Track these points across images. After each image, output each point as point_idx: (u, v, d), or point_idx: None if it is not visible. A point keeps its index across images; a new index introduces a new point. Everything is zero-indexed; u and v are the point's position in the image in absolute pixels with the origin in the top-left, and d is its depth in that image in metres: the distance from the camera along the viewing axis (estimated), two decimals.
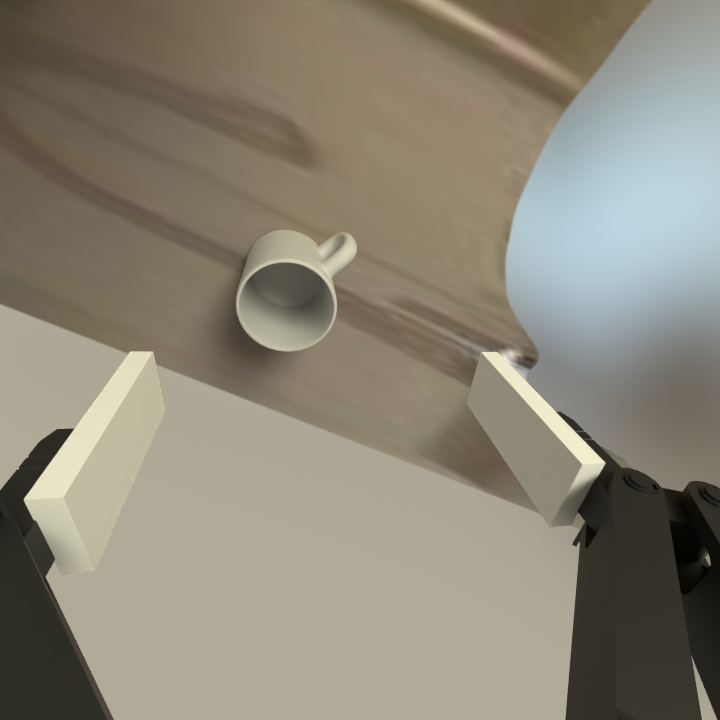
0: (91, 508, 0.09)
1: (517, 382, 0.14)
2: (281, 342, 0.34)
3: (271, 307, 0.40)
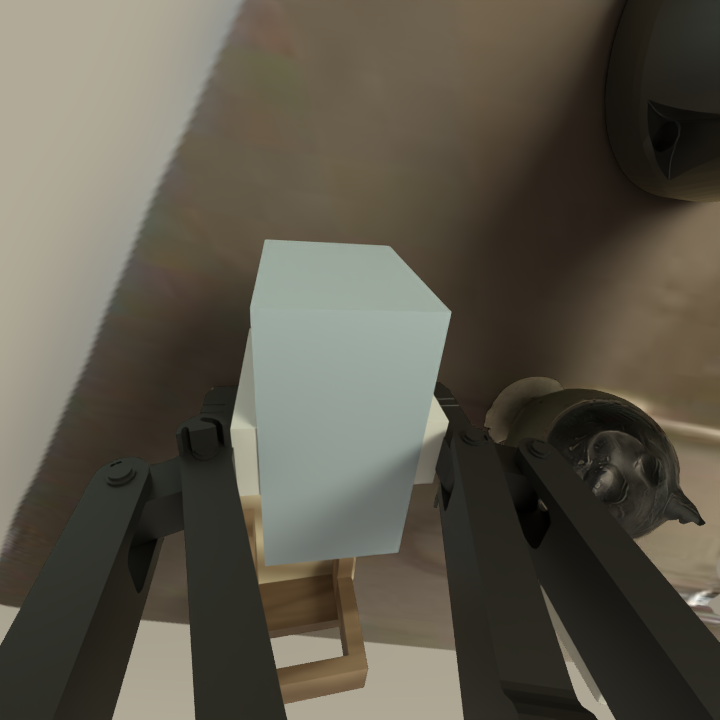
0: None
1: None
2: None
3: None
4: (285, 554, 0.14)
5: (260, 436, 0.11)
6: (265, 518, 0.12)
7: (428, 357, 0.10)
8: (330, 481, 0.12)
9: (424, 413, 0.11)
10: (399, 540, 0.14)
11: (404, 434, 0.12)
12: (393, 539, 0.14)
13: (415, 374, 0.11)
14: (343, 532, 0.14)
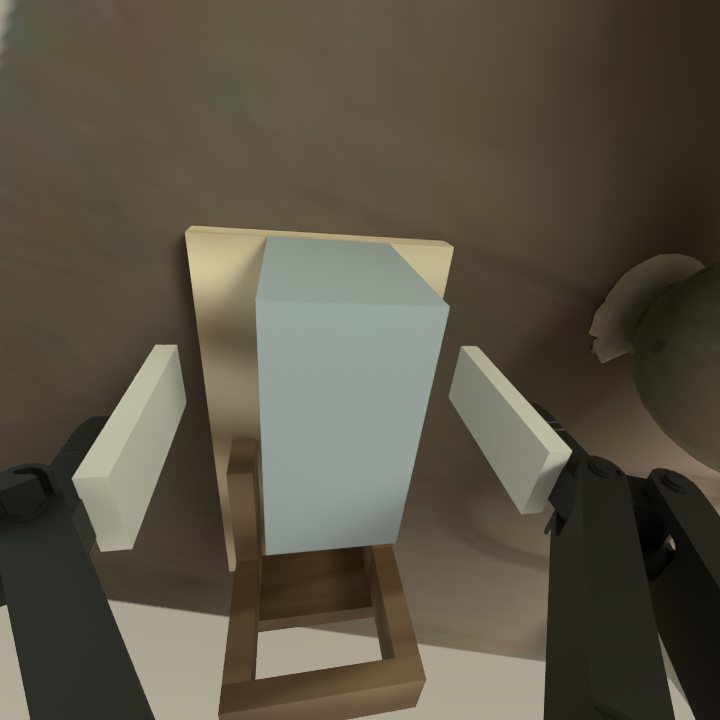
0: (129, 489, 0.10)
1: (494, 375, 0.15)
2: None
3: None
4: (285, 543, 0.14)
5: (263, 426, 0.11)
6: (267, 507, 0.13)
7: (427, 350, 0.11)
8: (330, 471, 0.12)
9: (422, 405, 0.12)
10: (397, 531, 0.15)
11: (403, 426, 0.12)
12: (391, 529, 0.15)
13: (414, 367, 0.11)
14: (343, 522, 0.14)
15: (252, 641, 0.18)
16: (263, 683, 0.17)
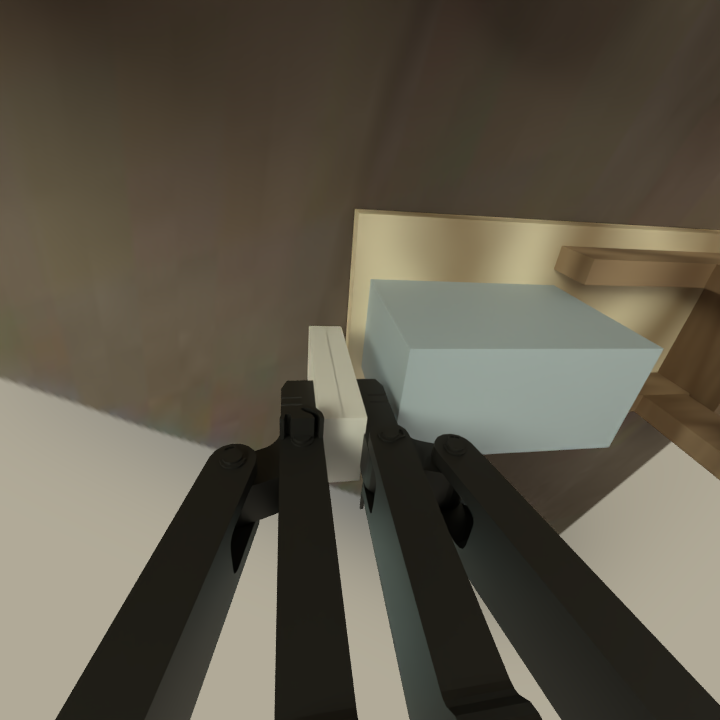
0: None
1: (338, 351, 0.15)
2: None
3: None
4: (603, 435, 0.16)
5: (482, 452, 0.16)
6: (557, 448, 0.16)
7: (445, 358, 0.13)
8: (541, 411, 0.15)
9: (499, 352, 0.13)
10: (646, 349, 0.14)
11: (515, 364, 0.14)
12: (641, 355, 0.14)
13: (459, 365, 0.13)
14: (604, 397, 0.15)
15: (709, 443, 0.19)
16: None
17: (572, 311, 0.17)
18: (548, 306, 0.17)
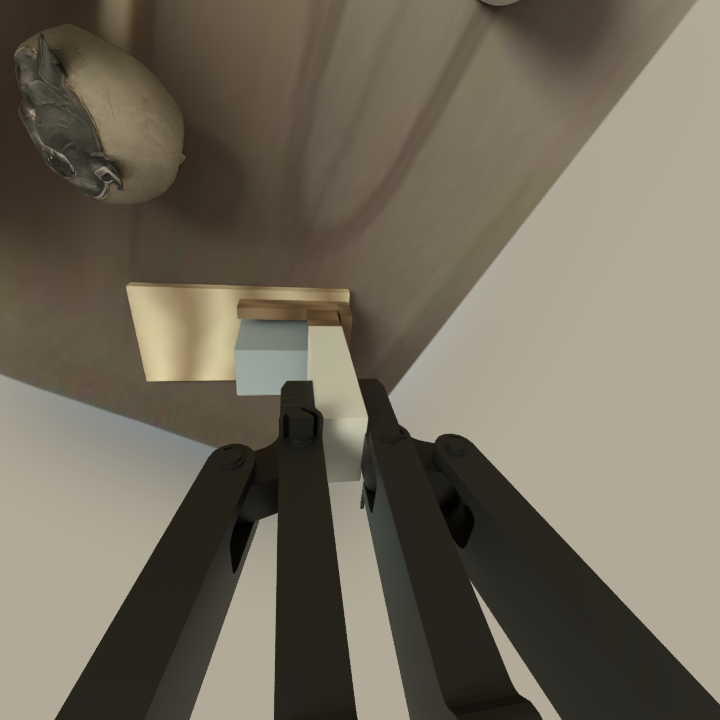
0: None
1: (339, 351, 0.15)
2: None
3: None
4: None
5: (278, 394, 0.38)
6: None
7: (249, 353, 0.35)
8: (298, 376, 0.37)
9: (270, 351, 0.35)
10: None
11: (279, 356, 0.36)
12: None
13: (255, 356, 0.35)
14: None
15: None
16: None
17: None
18: None
